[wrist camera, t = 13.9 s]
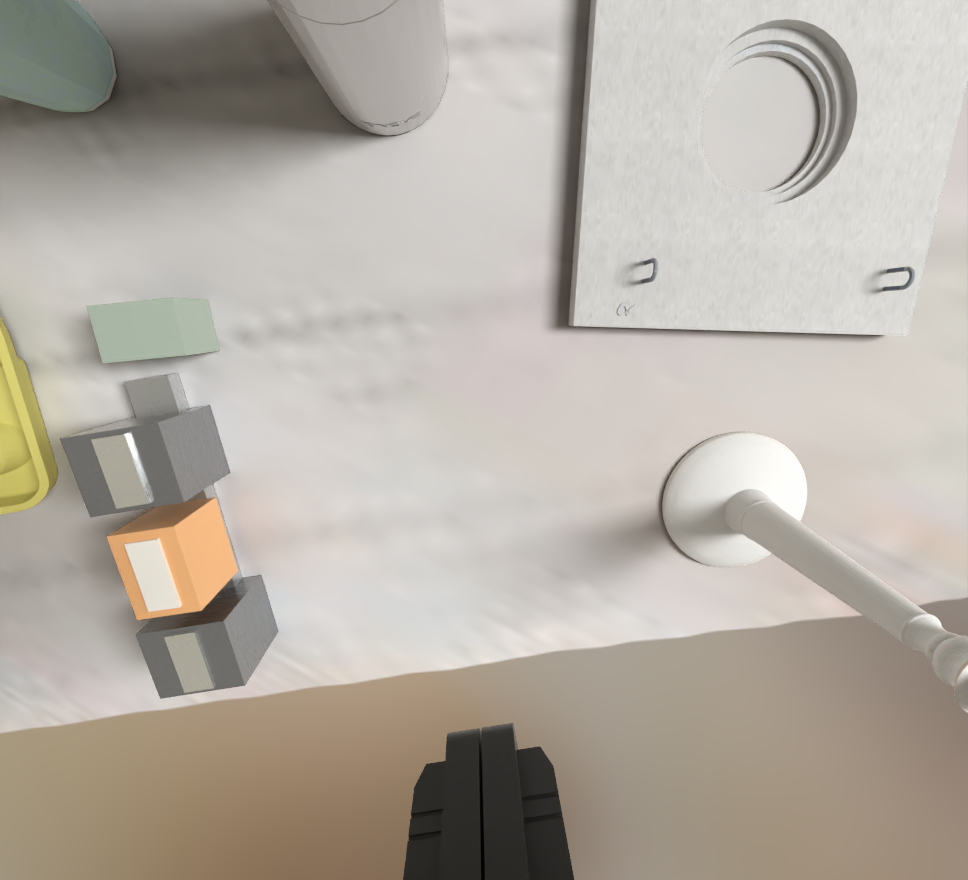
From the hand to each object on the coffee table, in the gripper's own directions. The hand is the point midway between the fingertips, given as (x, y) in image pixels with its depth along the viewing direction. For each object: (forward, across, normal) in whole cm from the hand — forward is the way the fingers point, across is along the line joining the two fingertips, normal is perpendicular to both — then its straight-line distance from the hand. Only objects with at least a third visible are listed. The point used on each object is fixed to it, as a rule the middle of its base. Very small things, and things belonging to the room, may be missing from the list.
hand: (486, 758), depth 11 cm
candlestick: (+32, -22, +10) cm, 40 cm away
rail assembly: (+32, +25, +4) cm, 41 cm away
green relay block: (+32, +22, -12) cm, 41 cm away
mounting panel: (+33, -25, -20) cm, 46 cm away
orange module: (+30, +25, +5) cm, 40 cm away
